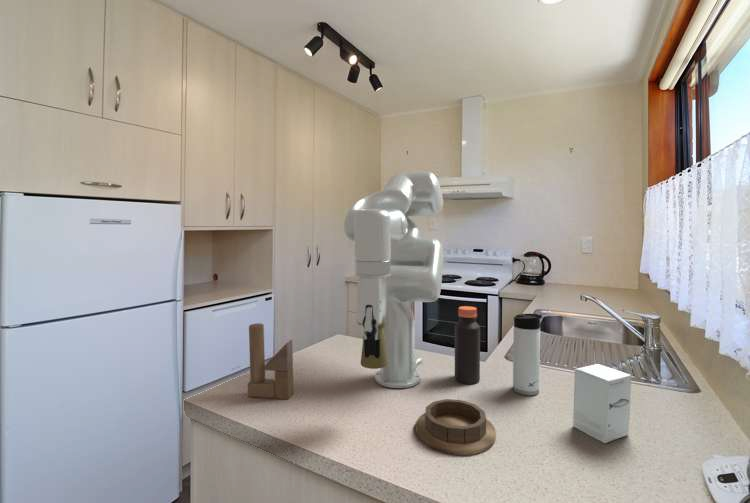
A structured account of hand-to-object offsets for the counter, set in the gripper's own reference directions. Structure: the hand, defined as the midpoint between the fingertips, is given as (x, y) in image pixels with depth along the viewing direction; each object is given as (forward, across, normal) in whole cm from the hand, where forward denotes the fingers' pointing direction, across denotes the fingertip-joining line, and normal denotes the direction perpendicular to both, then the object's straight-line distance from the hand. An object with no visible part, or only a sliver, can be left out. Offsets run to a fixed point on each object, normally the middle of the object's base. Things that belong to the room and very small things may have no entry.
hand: (374, 352), depth 80 cm
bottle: (+16, -26, +21) cm, 37 cm away
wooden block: (+16, -8, -28) cm, 33 cm away
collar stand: (+15, +2, +17) cm, 23 cm away
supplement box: (+16, -3, +46) cm, 49 cm away
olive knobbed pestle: (+3, 0, 0) cm, 3 cm away
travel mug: (+16, -21, +36) cm, 45 cm away
